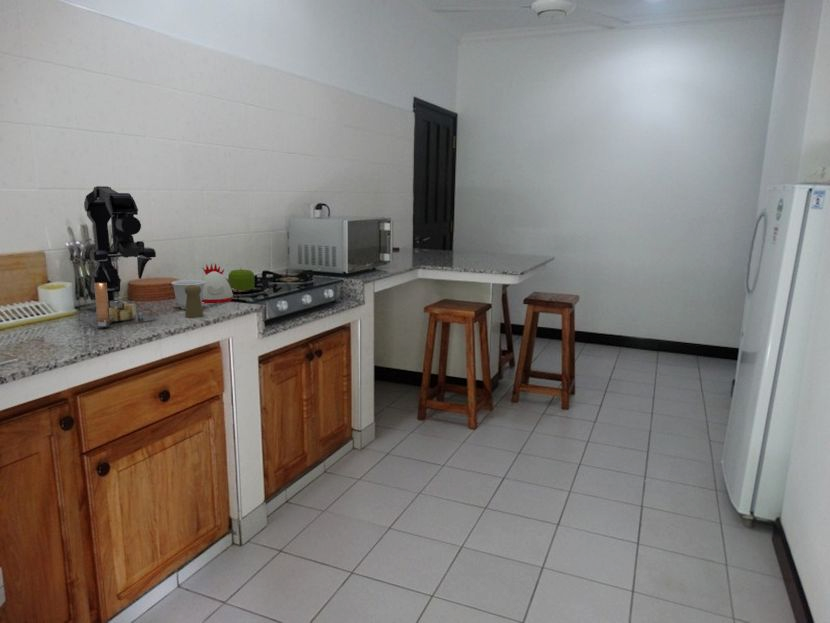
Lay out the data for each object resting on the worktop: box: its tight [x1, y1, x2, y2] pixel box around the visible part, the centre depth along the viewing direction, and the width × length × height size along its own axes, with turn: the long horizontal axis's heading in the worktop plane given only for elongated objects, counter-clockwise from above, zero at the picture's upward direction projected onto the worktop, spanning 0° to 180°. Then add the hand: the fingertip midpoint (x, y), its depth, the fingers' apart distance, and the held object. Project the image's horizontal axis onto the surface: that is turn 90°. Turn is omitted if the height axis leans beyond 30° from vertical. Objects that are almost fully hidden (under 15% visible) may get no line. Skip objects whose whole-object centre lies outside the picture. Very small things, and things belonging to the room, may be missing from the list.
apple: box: [227, 267, 255, 290], centre depth 250 cm, size 11×11×11 cm
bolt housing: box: [78, 299, 156, 329], centre depth 192 cm, size 18×18×6 cm
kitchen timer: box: [201, 263, 234, 304], centre depth 230 cm, size 14×14×15 cm
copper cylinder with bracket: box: [94, 282, 137, 326], centre depth 186 cm, size 20×11×14 cm, turn 11°
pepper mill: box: [184, 285, 204, 319], centre depth 200 cm, size 6×6×11 cm
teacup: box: [170, 279, 206, 310], centre depth 212 cm, size 12×15×10 cm
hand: (125, 279), depth 189 cm, fingers open, 9 cm apart
